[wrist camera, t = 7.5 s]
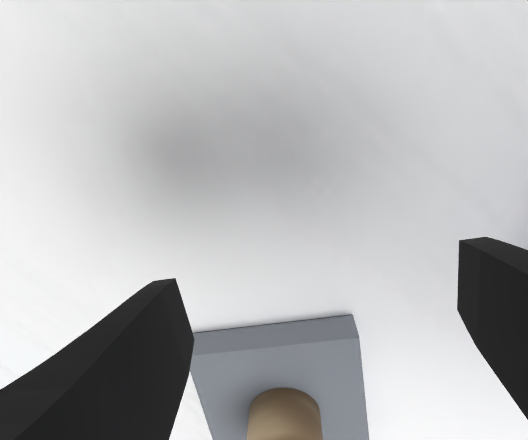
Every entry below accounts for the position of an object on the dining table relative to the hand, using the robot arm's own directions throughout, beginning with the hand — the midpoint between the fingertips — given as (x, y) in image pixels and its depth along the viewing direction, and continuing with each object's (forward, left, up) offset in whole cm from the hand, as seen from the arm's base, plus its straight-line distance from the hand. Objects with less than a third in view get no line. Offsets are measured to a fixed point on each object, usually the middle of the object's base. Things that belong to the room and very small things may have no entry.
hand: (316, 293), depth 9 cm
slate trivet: (+3, +14, -10) cm, 18 cm away
